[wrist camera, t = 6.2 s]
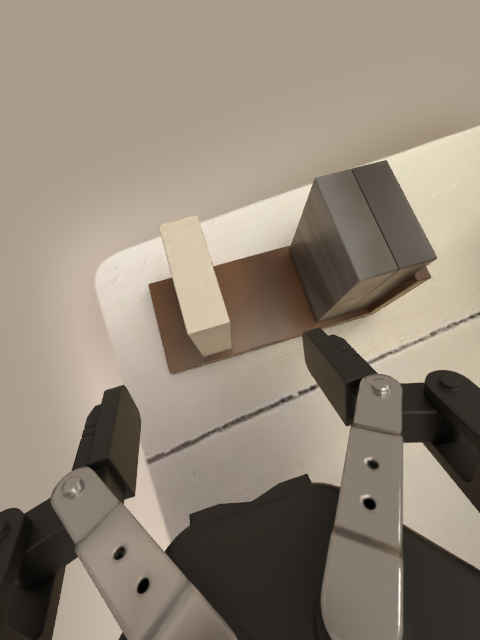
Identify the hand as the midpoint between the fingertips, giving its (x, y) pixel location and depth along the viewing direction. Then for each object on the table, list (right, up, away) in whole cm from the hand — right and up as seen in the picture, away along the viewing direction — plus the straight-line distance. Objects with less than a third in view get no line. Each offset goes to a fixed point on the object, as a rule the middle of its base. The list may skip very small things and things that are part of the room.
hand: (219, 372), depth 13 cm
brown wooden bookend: (+3, +4, +14) cm, 14 cm away
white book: (-2, +3, +12) cm, 13 cm away
